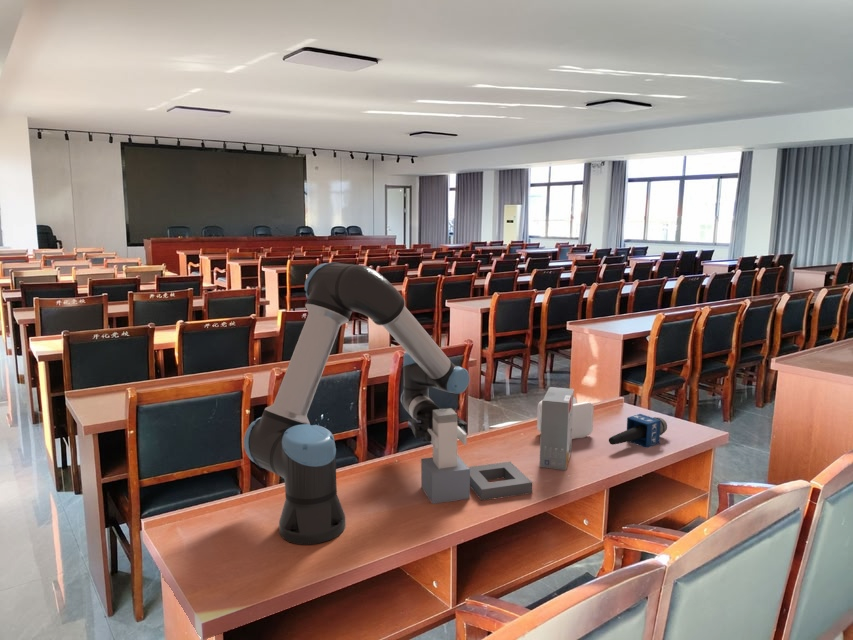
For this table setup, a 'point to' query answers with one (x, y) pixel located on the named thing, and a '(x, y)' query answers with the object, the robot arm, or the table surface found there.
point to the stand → (445, 481)
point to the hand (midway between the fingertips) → (451, 441)
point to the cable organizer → (575, 418)
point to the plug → (445, 438)
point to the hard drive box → (556, 428)
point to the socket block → (490, 490)
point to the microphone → (641, 431)
